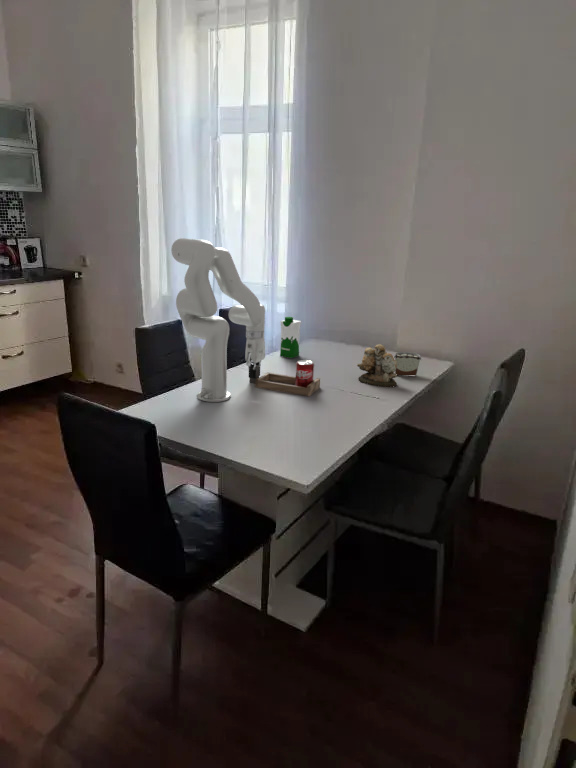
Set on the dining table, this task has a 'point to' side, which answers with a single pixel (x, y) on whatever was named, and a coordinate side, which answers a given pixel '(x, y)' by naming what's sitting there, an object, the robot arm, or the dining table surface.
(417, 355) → the food container
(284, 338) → the milk carton
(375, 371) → the owl figurine
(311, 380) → the soda can
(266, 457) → the dining table surface
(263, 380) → the wooden tray frame
